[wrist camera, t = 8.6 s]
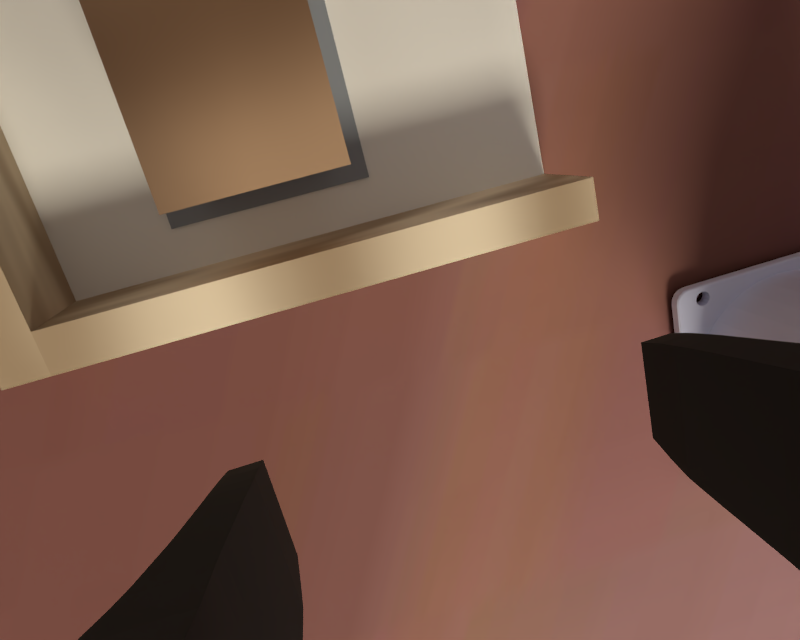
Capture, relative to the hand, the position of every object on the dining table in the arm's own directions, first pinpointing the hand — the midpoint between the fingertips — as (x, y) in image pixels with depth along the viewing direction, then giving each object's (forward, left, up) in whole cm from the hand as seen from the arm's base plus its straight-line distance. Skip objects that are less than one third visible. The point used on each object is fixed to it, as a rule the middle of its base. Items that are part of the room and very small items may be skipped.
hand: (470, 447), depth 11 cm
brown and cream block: (+2, -8, -9) cm, 12 cm away
